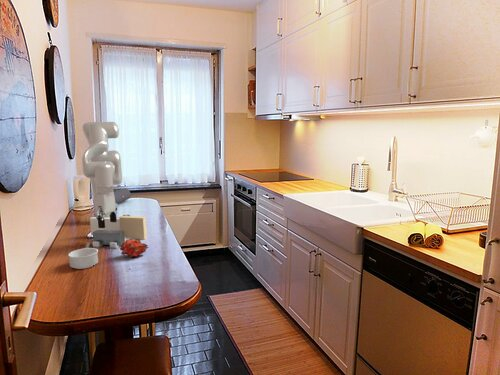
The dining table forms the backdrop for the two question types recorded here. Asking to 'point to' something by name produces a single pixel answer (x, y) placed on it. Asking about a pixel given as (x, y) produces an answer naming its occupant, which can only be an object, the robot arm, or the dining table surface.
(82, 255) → the saucepan
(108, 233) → the grey metal block
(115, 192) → the bluetooth speaker
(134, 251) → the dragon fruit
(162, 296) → the dining table surface
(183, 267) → the dining table surface
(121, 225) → the white rack
